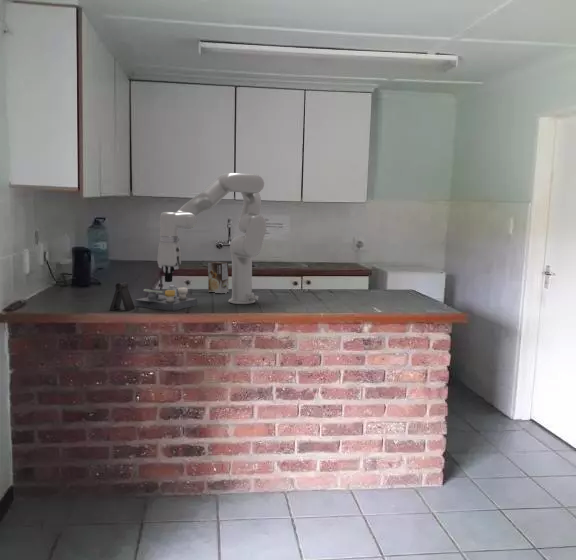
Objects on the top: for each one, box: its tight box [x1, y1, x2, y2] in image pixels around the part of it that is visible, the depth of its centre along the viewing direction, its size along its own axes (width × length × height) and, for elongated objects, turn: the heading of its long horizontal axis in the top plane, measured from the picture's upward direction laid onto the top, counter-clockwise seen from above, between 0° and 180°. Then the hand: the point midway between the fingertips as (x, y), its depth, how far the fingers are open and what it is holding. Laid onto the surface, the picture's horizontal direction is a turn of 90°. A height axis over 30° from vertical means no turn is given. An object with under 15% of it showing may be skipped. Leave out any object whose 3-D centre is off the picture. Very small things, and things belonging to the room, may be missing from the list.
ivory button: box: [177, 287, 189, 300], centre depth 271 cm, size 4×4×5 cm
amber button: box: [164, 289, 175, 303], centre depth 263 cm, size 4×4×5 cm
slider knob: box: [166, 284, 178, 297], centre depth 275 cm, size 3×3×5 cm
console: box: [134, 293, 198, 312], centre depth 270 cm, size 22×17×4 cm
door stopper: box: [109, 281, 136, 312], centre depth 259 cm, size 9×6×12 cm, turn 78°
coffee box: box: [207, 261, 229, 294], centre depth 309 cm, size 9×6×16 cm
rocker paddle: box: [143, 288, 164, 295], centre depth 273 cm, size 5×9×2 cm, turn 152°
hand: (168, 281), depth 262 cm, fingers closed
